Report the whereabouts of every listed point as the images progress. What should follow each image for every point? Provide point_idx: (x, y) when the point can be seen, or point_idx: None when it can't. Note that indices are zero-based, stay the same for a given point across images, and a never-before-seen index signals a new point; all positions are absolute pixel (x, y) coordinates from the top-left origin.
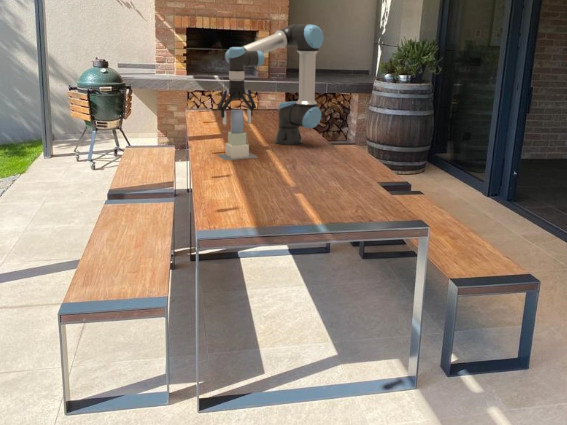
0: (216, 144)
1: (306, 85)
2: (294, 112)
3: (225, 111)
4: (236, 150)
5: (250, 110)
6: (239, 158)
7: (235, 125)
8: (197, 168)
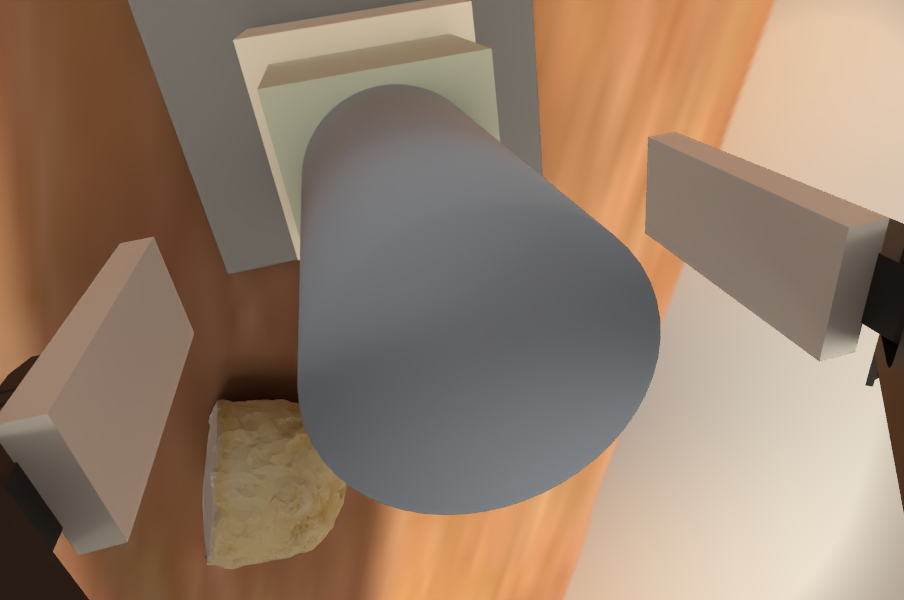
0: (432, 563)
1: None
2: None
3: (866, 221)
4: (402, 9)
5: (13, 415)
6: None
7: (472, 123)
8: None
